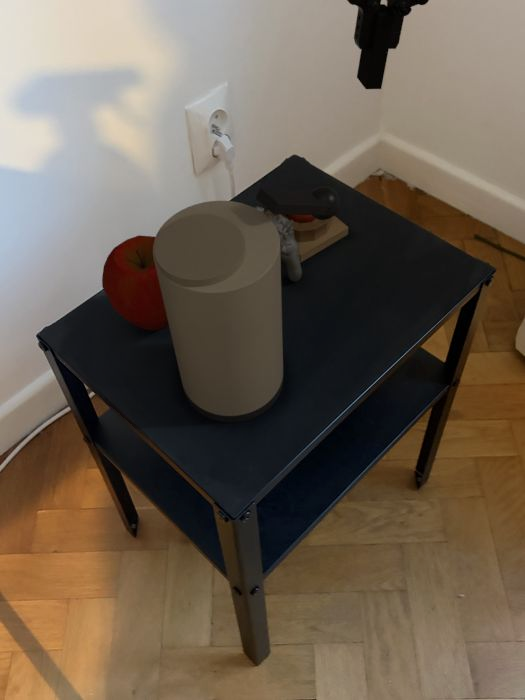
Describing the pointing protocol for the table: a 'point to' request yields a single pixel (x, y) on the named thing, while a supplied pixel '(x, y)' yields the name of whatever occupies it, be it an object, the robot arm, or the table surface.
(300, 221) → the button
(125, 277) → the apple
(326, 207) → the switch
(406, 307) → the table surface
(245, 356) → the beige cylinder
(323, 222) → the button base
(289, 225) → the grey toy figure
